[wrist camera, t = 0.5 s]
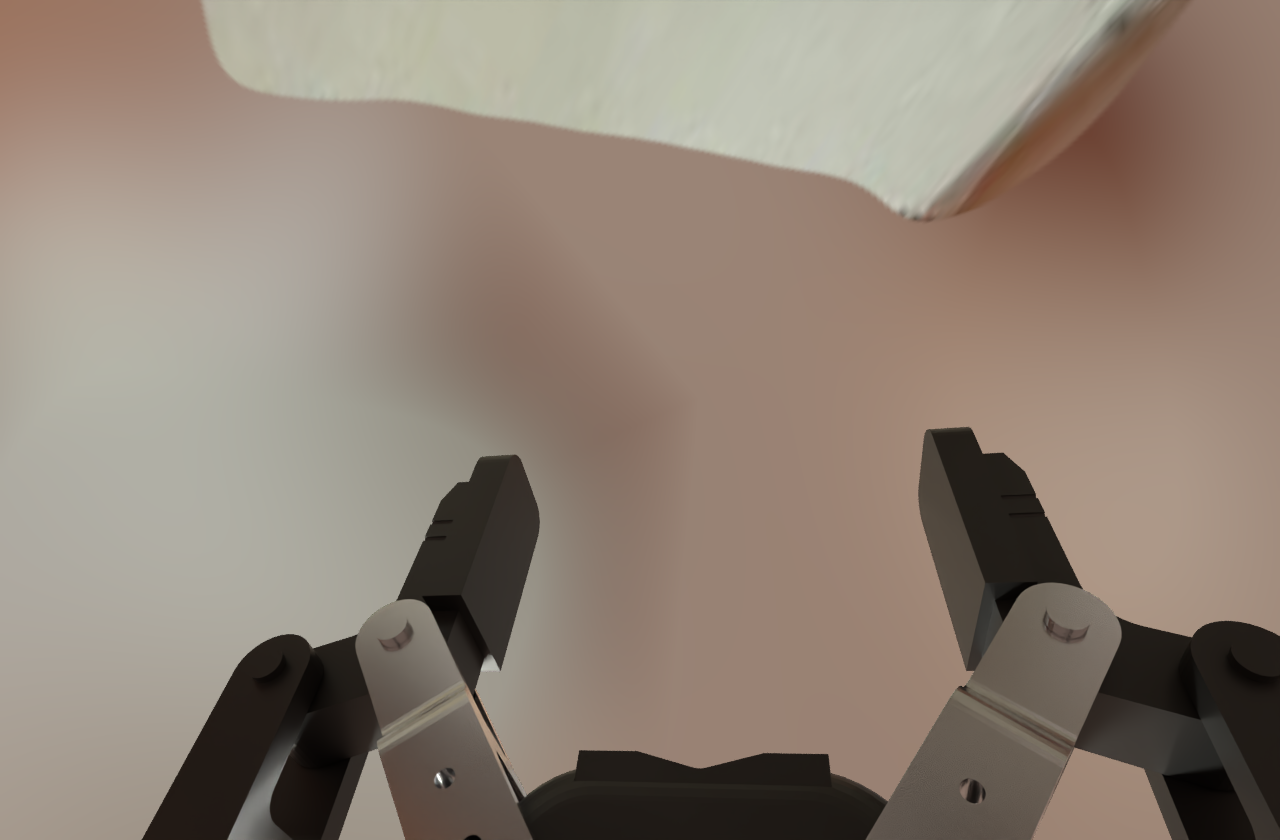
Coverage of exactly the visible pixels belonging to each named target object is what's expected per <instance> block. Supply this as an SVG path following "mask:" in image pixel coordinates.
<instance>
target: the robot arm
mask: <svg viewBox="0 0 1280 840" xmlns="http://www.w3.org/2000/svg"><path fill="white" fill-rule="evenodd" d="M918 491H919V492H918V496H919V508H920V514H921V519H922V522H923V526H924V529H925V533H926V536H927V540H928V543H929V547H930V550H931V553H932V556H933V560H934V563H935V566H936V570H937V573H938V577H939V580H940V584H941V587H942V590H943V594H944V597H945V601H946V604H947V607H948V610H949V614H950V617H951V621H952V624H953V627H954V631H955V634H956V638H957V641H958V644H959V648H960V651H961V654H962V658H963V661H964V664H965V668H966V671H974V673H973V675H972V676H971V678H970V680H969V681H968V683H967V684H966V685H965V686H964V687H962V686H959V687H958V688H957V689H956V690H955V692H954V693H953V694H952V696H951V697H950V699H949V701H948V702H947V704H946V706H945V707H944V709H943V710H942V712H941V714H940V715H939V717H938V719H937V721H936V722H935V724H934V726H933V727H932V729H931V731H930V732H929V734H928V736H927V737H926V739H925V741H924V743H923V744H922V746H921V747H920V749H919V751H918V752H917V754H916V756H915V758H914V759H913V761H912V762H911V764H910V766H909V768H908V769H907V771H906V773H905V774H904V776H903V778H902V779H901V781H900V783H899V784H898V786H897V788H896V789H895V791H894V793H893V794H892V796H891V798H890V799H889V801H886V800H885V799H883V798H882V797H880V796H879V795H878V794H877V793H875V792H873V791H872V790H870V789H868V788H866V787H865V786H863V785H861V784H859V783H857V782H854V781H852V780H850V779H847V778H845V777H842V776H839V775H835V774H832V773H830V765H829V756H828V754H780V753H763V754H759V755H755V756H751V757H747V758H743V759H739V760H735V761H731V762H727V763H723V764H720V765H715V766H711V767H707V768H702V769H700V768H699V769H698V768H692V767H689V766H686V765H682V764H679V763H676V762H672V761H669V760H665V759H662V758H658V757H655V756H651V755H648V754H645V753H641V752H638V751H585V750H584V751H582V750H581V751H579V755H578V761H577V767H576V770H573V771H569V772H566V773H564V774H561V775H559V776H556V777H554V778H553V779H551V780H549V781H547V782H545V783H544V784H542V785H540V786H539V787H538V788H536V789H535V790H533V791H532V792H531V793H529V794H528V795H527V794H526V792H525V790H524V788H523V786H522V784H521V782H520V780H519V779H518V777H517V775H516V773H515V771H514V769H513V767H512V765H511V762H510V760H509V758H508V756H507V754H506V752H505V750H504V748H503V746H502V743H501V741H500V739H499V737H498V735H497V733H496V731H495V729H494V726H493V725H492V722H491V720H490V718H489V716H488V714H487V712H486V709H485V707H484V705H483V703H482V701H481V699H480V697H479V695H478V693H477V691H476V689H475V688H476V685H477V681H478V678H479V675H480V671H501V668H502V664H503V660H504V657H505V653H506V650H507V646H508V642H509V639H510V635H511V632H512V628H513V624H514V621H515V617H516V613H517V610H518V606H519V603H520V599H521V596H522V592H523V588H524V585H525V581H526V577H527V574H528V570H529V567H530V563H531V559H532V556H533V552H534V548H535V545H536V542H537V537H538V534H539V524H540V520H539V511H538V506H537V503H536V500H535V498H534V495H533V492H532V489H531V486H530V484H529V481H528V478H527V475H526V473H525V470H524V467H523V464H522V462H521V460H520V458H519V457H518V456H517V455H501V456H486V457H481V458H480V459H479V460H478V462H477V464H476V466H475V468H474V471H473V473H472V476H471V478H470V481H469V482H459V483H457V484H456V486H455V487H454V488H453V489H452V490H451V491H450V492H449V493H448V494H447V495H446V496H445V497H444V498H443V499H442V500H441V502H440V504H439V507H438V509H437V511H436V513H435V515H434V518H433V520H432V522H433V523H432V525H430V527H429V529H428V531H427V533H426V536H425V541H423V542H422V545H421V547H420V549H419V552H418V554H417V556H416V558H415V561H414V563H413V565H412V567H411V570H410V572H409V574H408V576H407V578H406V581H405V583H404V585H403V587H402V590H401V592H400V594H399V596H398V599H397V600H396V601H395V602H393V603H390V604H388V605H386V606H384V607H382V608H381V609H379V610H378V611H376V612H375V613H374V614H372V616H371V617H369V618H368V619H367V621H366V622H365V623H364V624H363V626H362V627H361V629H360V631H359V633H358V634H357V635H355V636H352V637H349V638H346V639H342V640H339V641H336V642H333V643H329V644H326V645H323V646H320V647H317V648H312V647H311V646H310V645H309V643H308V642H307V641H306V640H305V639H304V638H303V637H301V636H299V635H294V634H286V635H280V636H277V637H274V638H271V639H269V640H267V641H265V642H263V643H261V644H260V645H258V646H257V647H255V648H254V649H253V650H252V651H251V652H249V653H248V654H247V655H246V656H245V657H244V658H243V659H242V660H241V662H240V663H239V664H238V666H237V667H236V669H235V670H234V672H233V674H232V676H231V678H230V680H229V681H228V683H227V685H226V687H225V689H224V691H223V692H222V694H221V696H220V698H219V700H218V701H217V703H216V705H215V707H214V709H213V711H212V712H211V714H210V716H209V718H208V720H207V722H206V723H205V725H204V727H203V729H202V731H201V733H200V734H199V736H198V738H197V740H196V742H195V743H194V745H193V747H192V749H191V751H190V753H189V754H188V756H187V758H186V760H185V762H184V764H183V765H182V767H181V769H180V771H179V773H178V775H177V776H176V778H175V780H174V782H173V784H172V786H171V787H170V789H169V791H168V793H167V795H166V797H165V798H164V800H163V802H162V804H161V806H160V807H159V809H158V811H157V813H156V815H155V817H154V819H153V820H152V822H151V824H150V826H149V828H148V830H147V831H146V833H145V835H144V837H143V839H142V840H338V839H339V836H340V833H341V831H342V827H343V825H344V821H345V819H346V816H347V813H348V810H349V807H350V804H351V801H352V798H353V796H354V793H355V790H356V787H357V784H358V781H359V778H360V775H361V772H362V770H363V767H364V763H365V760H366V758H367V755H368V752H369V751H372V750H375V749H378V751H379V755H380V758H381V761H382V765H383V768H384V771H385V774H386V778H387V781H388V784H389V788H390V791H391V794H392V797H393V801H394V804H395V807H396V810H397V813H398V817H399V820H400V823H401V826H402V830H403V833H404V837H405V840H1033V838H1034V836H1035V834H1036V831H1037V829H1038V827H1039V825H1040V823H1041V820H1042V818H1043V816H1044V814H1045V811H1046V809H1047V807H1048V805H1049V803H1050V800H1051V798H1052V796H1053V794H1054V791H1055V789H1056V787H1057V785H1058V783H1059V780H1060V778H1061V776H1062V774H1063V772H1064V769H1065V767H1066V765H1067V763H1068V760H1069V758H1070V756H1071V754H1072V752H1073V749H1074V747H1075V748H1078V749H1082V750H1085V751H1088V752H1091V753H1095V754H1098V755H1102V756H1105V757H1108V758H1111V759H1114V760H1118V761H1121V762H1124V763H1128V764H1131V765H1134V766H1137V767H1141V768H1144V769H1145V772H1146V775H1147V777H1148V780H1149V782H1150V785H1151V787H1152V790H1153V793H1154V795H1155V798H1156V800H1157V803H1158V805H1159V808H1160V810H1161V813H1162V815H1163V818H1164V820H1165V823H1166V826H1167V828H1168V831H1169V833H1170V836H1171V838H1172V840H1280V636H1278V635H1276V634H1275V633H1273V632H1270V631H1268V630H1265V629H1263V628H1261V627H1258V626H1254V625H1251V624H1247V623H1242V622H1235V621H1219V622H1213V623H1209V624H1207V625H1204V626H1202V627H1201V628H1200V629H1198V630H1197V631H1196V632H1195V634H1194V635H1193V637H1187V636H1183V635H1179V634H1174V633H1170V632H1166V631H1161V630H1157V629H1152V628H1148V627H1144V626H1140V625H1137V624H1133V623H1131V622H1128V621H1126V620H1123V619H1121V618H1119V617H1117V616H1115V614H1114V613H1113V612H1112V610H1111V609H1110V608H1109V607H1108V606H1107V605H1106V604H1105V603H1104V602H1103V601H1101V600H1100V599H1099V598H1097V597H1096V596H1094V595H1093V594H1091V593H1089V592H1087V591H1085V590H1083V588H1082V587H1081V585H1080V583H1079V581H1078V579H1077V577H1076V576H1075V573H1074V571H1073V569H1072V567H1071V565H1070V563H1069V561H1068V559H1067V557H1066V555H1065V553H1064V551H1063V549H1062V547H1061V545H1060V542H1059V540H1058V538H1057V537H1056V534H1055V532H1054V530H1053V528H1052V526H1051V524H1050V522H1049V520H1048V518H1047V517H1045V514H1044V513H1045V512H1044V510H1043V508H1042V506H1041V504H1040V502H1039V499H1038V498H1036V494H1035V491H1034V489H1033V487H1032V485H1031V483H1030V481H1029V479H1028V477H1027V475H1026V473H1025V471H1023V470H1022V469H1021V468H1020V467H1019V466H1018V465H1017V464H1015V463H1014V462H1013V461H1012V460H1011V459H1010V458H1008V457H1007V456H1006V455H1005V454H1004V453H990V454H982V451H981V449H980V447H979V444H978V442H977V440H976V437H975V435H974V433H973V431H972V429H971V428H969V427H960V428H944V429H929V430H926V432H925V436H924V443H923V452H922V462H921V470H920V480H919V490H918Z"/></svg>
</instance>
